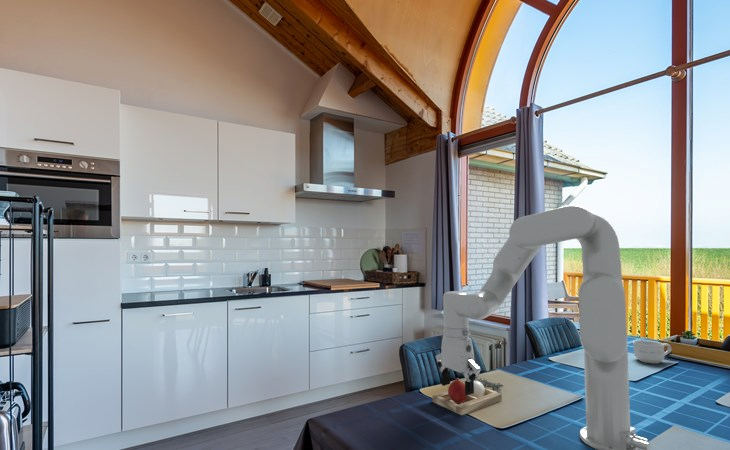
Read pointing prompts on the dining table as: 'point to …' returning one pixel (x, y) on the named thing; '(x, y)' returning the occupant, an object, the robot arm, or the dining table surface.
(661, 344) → the teacup
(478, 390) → the ceramic egg
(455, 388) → the onion
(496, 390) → the grey green leafy sprig
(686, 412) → the dining table surface
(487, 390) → the holder board
